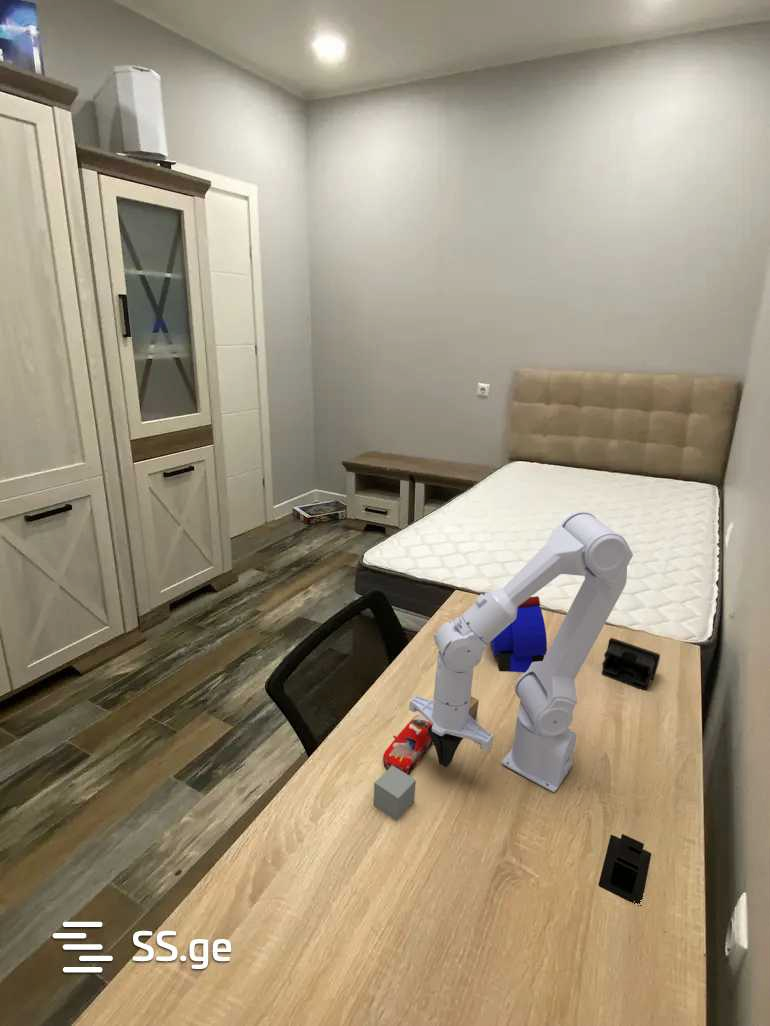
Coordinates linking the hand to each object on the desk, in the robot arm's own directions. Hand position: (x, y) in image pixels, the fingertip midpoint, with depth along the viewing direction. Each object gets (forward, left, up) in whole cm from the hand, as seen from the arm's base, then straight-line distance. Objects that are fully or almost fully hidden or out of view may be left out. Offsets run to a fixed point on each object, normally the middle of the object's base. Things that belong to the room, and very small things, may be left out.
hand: (445, 762), depth 93 cm
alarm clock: (+6, -38, -2) cm, 39 cm away
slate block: (+2, +11, -2) cm, 11 cm away
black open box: (-29, -1, -2) cm, 29 cm away
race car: (+7, 0, -2) cm, 7 cm away
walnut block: (+4, -12, -2) cm, 13 cm away
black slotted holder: (-16, -48, -2) cm, 51 cm away
